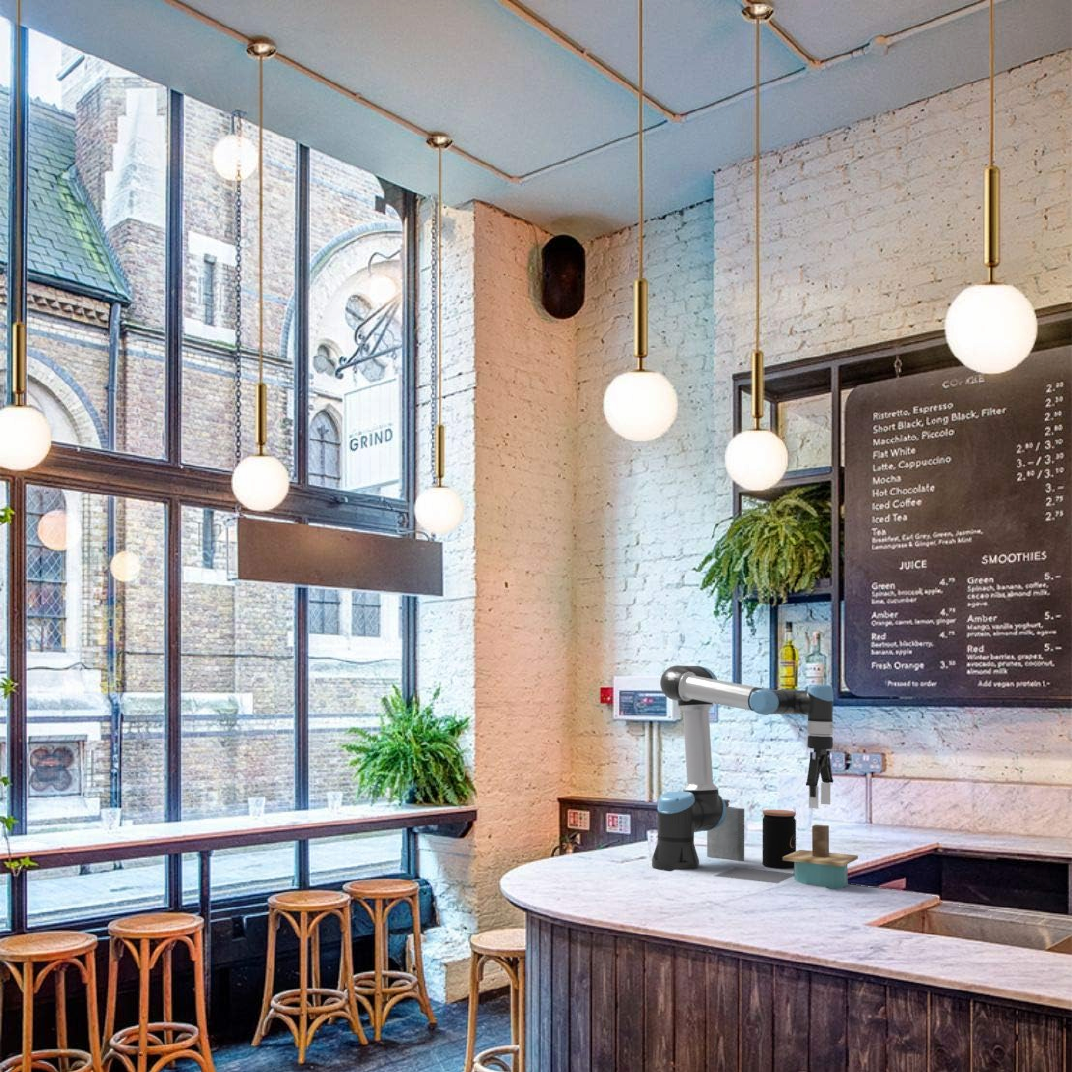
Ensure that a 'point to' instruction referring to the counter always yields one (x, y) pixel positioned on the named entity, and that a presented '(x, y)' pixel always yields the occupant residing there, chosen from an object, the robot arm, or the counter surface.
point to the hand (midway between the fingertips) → (819, 806)
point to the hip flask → (728, 836)
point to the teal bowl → (821, 874)
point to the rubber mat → (755, 875)
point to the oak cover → (820, 850)
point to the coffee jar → (778, 838)
